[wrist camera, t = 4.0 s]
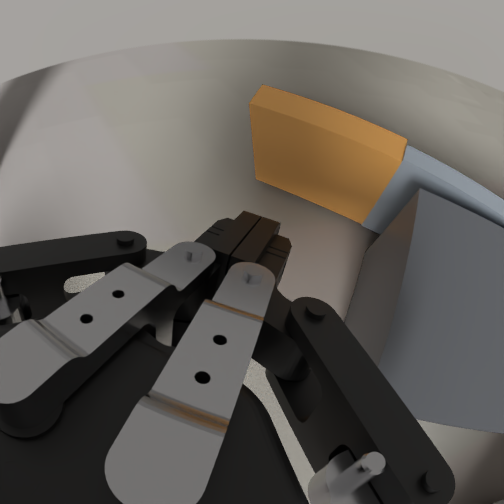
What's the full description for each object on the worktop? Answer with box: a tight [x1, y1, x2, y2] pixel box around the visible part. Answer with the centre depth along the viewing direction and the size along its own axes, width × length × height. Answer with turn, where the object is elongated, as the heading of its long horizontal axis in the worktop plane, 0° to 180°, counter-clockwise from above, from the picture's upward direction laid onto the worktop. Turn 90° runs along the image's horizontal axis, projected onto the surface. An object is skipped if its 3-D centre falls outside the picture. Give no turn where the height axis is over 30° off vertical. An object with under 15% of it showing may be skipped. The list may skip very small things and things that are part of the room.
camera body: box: [344, 188, 504, 434], centre depth 12 cm, size 14×8×8 cm, turn 69°
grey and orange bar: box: [249, 84, 504, 235], centre depth 15 cm, size 19×2×7 cm, turn 64°
